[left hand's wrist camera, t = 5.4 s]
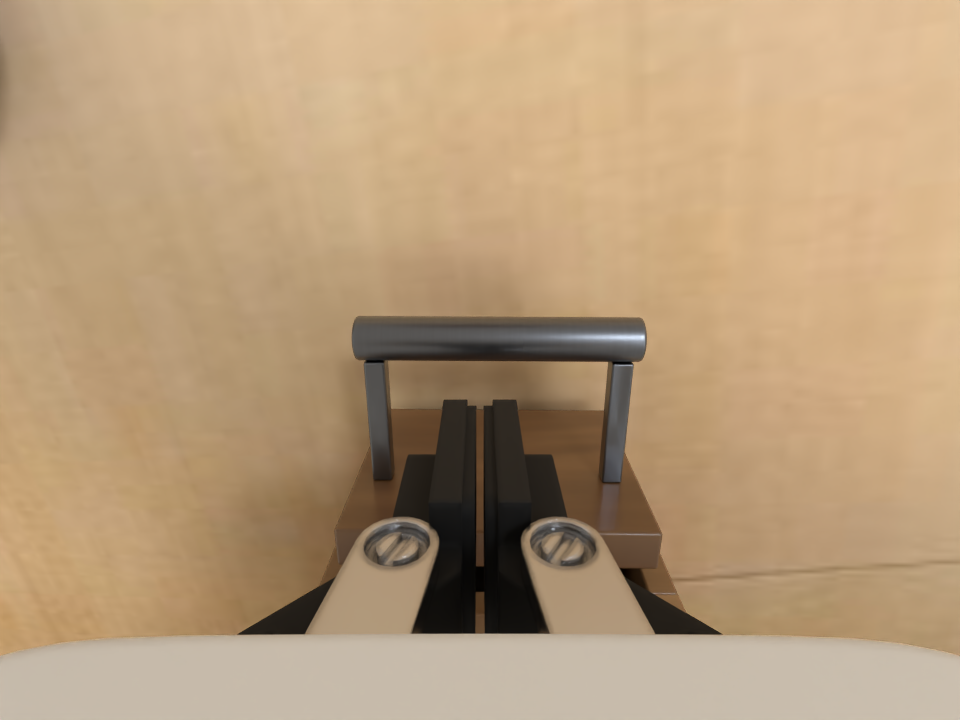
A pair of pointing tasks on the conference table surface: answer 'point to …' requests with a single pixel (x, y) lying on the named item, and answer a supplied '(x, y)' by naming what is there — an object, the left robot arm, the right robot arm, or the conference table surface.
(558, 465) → the drawer
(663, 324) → the conference table surface
